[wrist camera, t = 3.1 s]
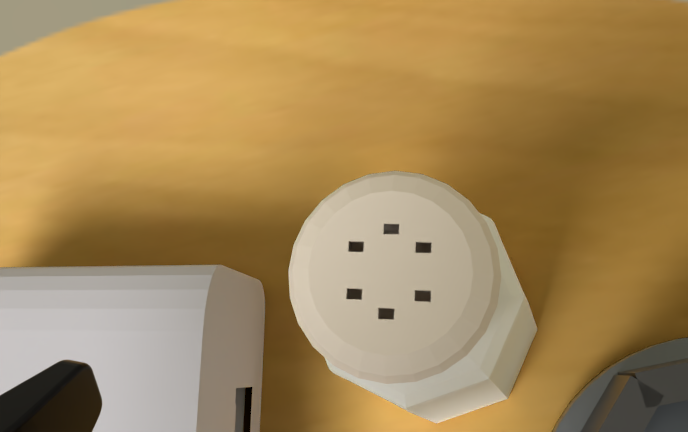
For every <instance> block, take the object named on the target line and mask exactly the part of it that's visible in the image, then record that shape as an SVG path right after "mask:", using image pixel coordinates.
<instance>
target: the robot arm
mask: <svg viewBox="0 0 688 432" xmlns="http://www.w3.org/2000/svg"><path fill="white" fill-rule="evenodd" d="M101 409H102V397H101V394H100V391H99V388H98V385H97V382H96V379H95V376H94V373H93V370H92V368H91V366H90V365H88V364H87V363H84V362H78V361H73V360H62V361H59V362H57V363H55V364H54V365H52V366H50V367H48V368H47V369H45V370H43V371H41V372H40V373H38V374H36V375H34V376H33V377H31V378H29V379H27V380H26V381H24V382H22V383H20V384H19V385H17V386H15V387H13V388H12V389H10V390H8V391H7V392H5V393H3V394H1V395H0V432H92V431H93V429H94V427H95V424H96V422H97V420H98V418H99V416H100V413H101Z"/></svg>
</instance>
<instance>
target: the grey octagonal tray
mask: <svg viewBox="0 0 688 432" xmlns="http://www.w3.org/2000/svg"><path fill="white" fill-rule="evenodd" d="M552 432H688V338H681V339H674V340H671V341H667V342H663V343H660V344H656V345H652V346H649V347H647V348H644V349H642V350H640V351H637V352H635V353H633V354H630V355H628V356H626V357H624V358H623V359H621V360H619V361H618V362H616V363H614V364H613V365H611V366H609V367H608V368H606V369H605V370H604V371H602V372H601V373H600V374H599V375H597V376H596V377H595V378H594V379H593V380H591V381H590V382H589V383H588V384H587V385H586V386H585V387H584V388H583V389H582V390H581V391H580V392H579V393H578V394H577V395H576V396H575V398H574V399H573V400H572V401H571V402H570V403H569V405H568V406H567V408H566V409H565V411H564V412H563V414H562V415H561V417H560V418H559V419H558V421H557V423H556V425H555V427H554V429H553V431H552Z"/></svg>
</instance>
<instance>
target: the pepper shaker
mask: <svg viewBox="0 0 688 432" xmlns="http://www.w3.org/2000/svg"><path fill="white" fill-rule="evenodd" d="M288 273H289V292H290V300H291V303H292V306H293V309H294V312H295V316H296V319H297V322H298V324H299V326H300V327H301V329H302V331H303V332H304V334H305V335H306V337H307V338H308V340H309V341H310V343H311V345H312V346H313V347H314V348H315V349H316V350H317V351H318V352H319V353H320V354H321V355H323V356H324V357H325V360H326V363H327V365H328V368H329V369H330V370H331V371H332V372H333V373H334V374H336V375H338V376H340V377H342V378H344V379H346V380H349V381H351V382H353V383H354V384H356V385H358V386H360V387H362V388H364V389H366V390H368V391H370V392H372V393H374V394H376V395H378V396H380V397H382V398H384V399H386V400H388V401H390V402H392V403H394V404H395V405H397V406H399V407H401V408H403V409H405V410H407V411H408V412H410V413H413V414H415V415H417V416H420V417H422V418H425V419H427V420H429V421H432V422H434V423H440V422H443V421H445V420H448V419H451V418H454V417H457V416H460V415H463V414H465V413H468V412H471V411H474V410H477V409H480V408H483V407H485V406H488V405H491V404H494V403H497V402H500V401H503V400H505V399H508V397H509V395H510V393H511V390H512V388H513V386H514V383H515V381H516V379H517V376H518V374H519V372H520V369H521V367H522V365H523V362H524V360H525V357H526V355H527V353H528V350H529V348H530V346H531V343H532V341H533V339H534V336H535V334H536V332H537V326H536V323H535V320H534V317H533V314H532V312H531V309H530V306H529V303H528V300H527V298H526V296H525V294H524V292H523V290H522V287H521V285H520V283H519V280H518V278H517V276H516V273H515V271H514V269H513V266H512V264H511V262H510V259H509V257H508V254H507V252H506V250H505V247H504V245H503V243H502V240H501V238H500V235H499V233H498V230H497V228H496V225H495V223H494V222H493V221H492V219H491V218H489V217H487V216H485V215H483V214H481V213H479V212H478V211H477V210H476V208H475V207H474V206H473V204H472V203H471V202H470V201H469V200H468V199H467V198H465V197H464V196H463V195H461V194H460V193H459V192H457V191H456V190H455V189H453V188H452V187H451V186H449V185H448V184H446V183H443V182H441V181H438V180H436V179H433V178H431V177H428V176H426V175H423V174H417V173H409V172H401V171H390V172H382V173H375V174H368V175H366V176H363V177H361V178H358V179H356V180H353V181H351V182H348V183H346V184H344V185H342V186H341V187H339V188H338V189H337V190H335V191H334V192H333V193H331V194H330V195H328V196H327V197H326V198H324V199H323V200H322V201H321V202H320V203H319V205H318V206H317V207H316V208H315V209H314V210H313V212H312V213H311V214H310V215H309V216H308V218H307V219H306V220H305V222H304V224H303V226H302V228H301V230H300V232H299V234H298V236H297V239H296V241H295V243H294V245H293V250H292V255H291V260H290V265H289V270H288Z"/></svg>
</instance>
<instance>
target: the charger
mask: <svg viewBox="0 0 688 432" xmlns="http://www.w3.org/2000/svg"><path fill="white" fill-rule="evenodd" d="M264 326H265V295H264V290H263V286H262V283H261V282H260V280H258V279H256V278H253V277H251V276H248V275H246V274H243V273H241V272H238V271H236V270H233V269H231V268H228V267H226V266H223V265H154V266H74V267H0V395H1V394H3V393H5V392H7V391H8V390H10V389H12V388H13V387H15V386H17V385H19V384H20V383H22V382H24V381H26V380H27V379H29V378H31V377H33V376H34V375H36V374H38V373H40V372H41V371H43V370H45V369H47V368H48V367H50V366H52V365H54V364H55V363H57V362H59V361H62V360H73V361H78V362H84V363H87V364H88V365H90V366H91V368H92V370H93V373H94V376H95V379H96V382H97V385H98V388H99V391H100V394H101V397H102V409H101V413H100V416H99V418H98V420H97V422H96V424H95V427H94V429H93V431H92V432H243V423H244V404H245V387H252V405H251V425H250V432H260V415H261V393H262V371H263V350H264Z"/></svg>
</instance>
